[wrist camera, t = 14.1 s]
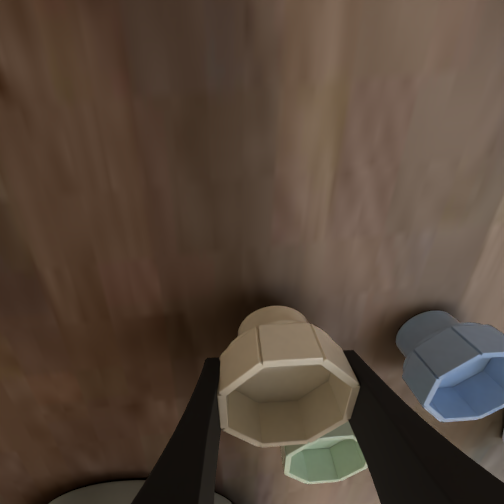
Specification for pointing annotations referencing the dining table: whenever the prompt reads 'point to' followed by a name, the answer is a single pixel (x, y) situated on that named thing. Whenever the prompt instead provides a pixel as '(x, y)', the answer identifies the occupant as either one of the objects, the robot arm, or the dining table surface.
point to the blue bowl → (453, 366)
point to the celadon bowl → (324, 457)
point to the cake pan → (112, 494)
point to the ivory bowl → (283, 381)
